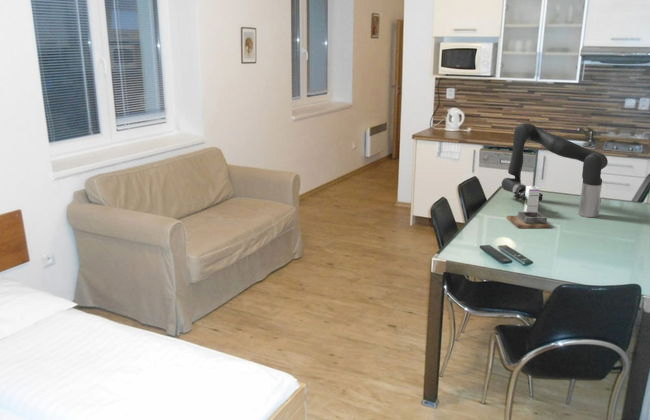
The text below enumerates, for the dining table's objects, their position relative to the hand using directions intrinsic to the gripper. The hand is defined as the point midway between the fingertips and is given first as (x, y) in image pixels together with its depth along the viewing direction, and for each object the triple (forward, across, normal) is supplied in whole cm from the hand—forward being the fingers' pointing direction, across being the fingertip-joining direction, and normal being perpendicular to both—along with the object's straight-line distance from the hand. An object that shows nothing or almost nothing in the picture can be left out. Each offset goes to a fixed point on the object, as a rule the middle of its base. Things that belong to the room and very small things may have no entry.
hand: (533, 199), depth 304 cm
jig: (+15, -8, +8) cm, 19 cm away
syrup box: (-2, 0, +9) cm, 9 cm away
